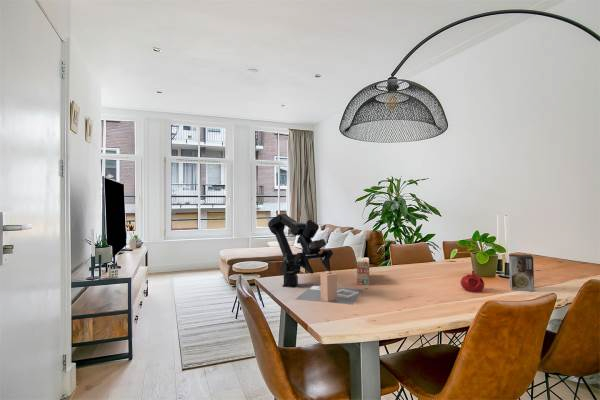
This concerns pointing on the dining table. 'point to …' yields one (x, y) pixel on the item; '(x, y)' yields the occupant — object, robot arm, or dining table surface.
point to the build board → (342, 295)
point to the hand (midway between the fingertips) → (321, 272)
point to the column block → (328, 286)
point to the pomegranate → (472, 283)
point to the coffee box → (521, 272)
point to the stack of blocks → (362, 271)
